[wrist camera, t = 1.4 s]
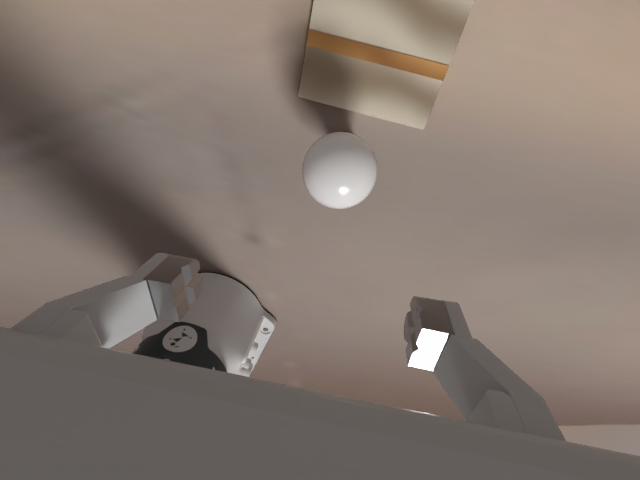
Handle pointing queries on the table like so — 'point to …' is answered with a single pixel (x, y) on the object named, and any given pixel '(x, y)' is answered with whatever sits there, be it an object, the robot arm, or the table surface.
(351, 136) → the lightbulb
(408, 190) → the table surface
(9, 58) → the table surface
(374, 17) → the board
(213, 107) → the table surface
